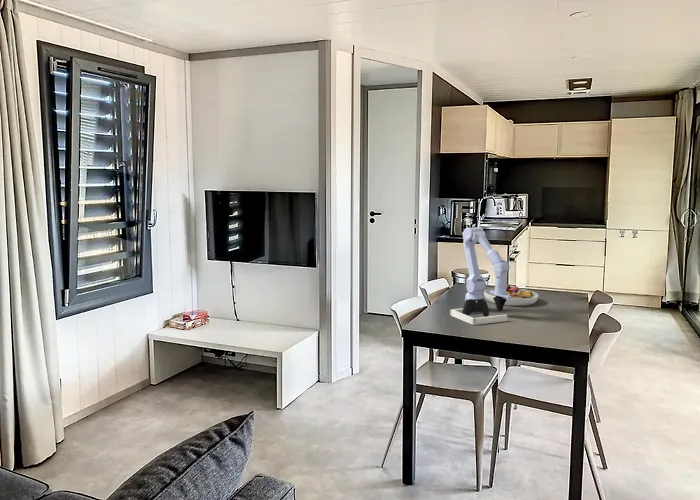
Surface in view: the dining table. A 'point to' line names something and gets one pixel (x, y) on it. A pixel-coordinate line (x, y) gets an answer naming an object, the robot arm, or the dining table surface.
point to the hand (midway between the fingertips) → (499, 311)
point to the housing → (480, 320)
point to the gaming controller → (475, 307)
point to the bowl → (515, 296)
